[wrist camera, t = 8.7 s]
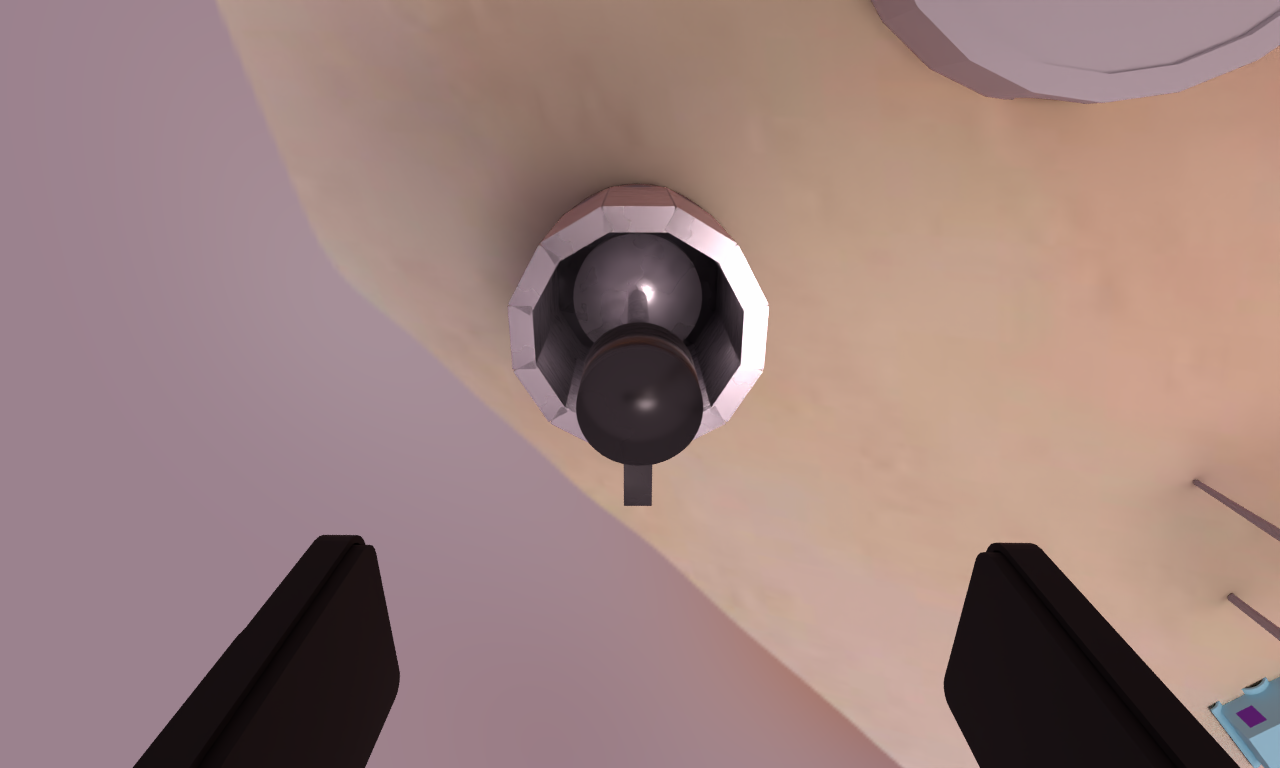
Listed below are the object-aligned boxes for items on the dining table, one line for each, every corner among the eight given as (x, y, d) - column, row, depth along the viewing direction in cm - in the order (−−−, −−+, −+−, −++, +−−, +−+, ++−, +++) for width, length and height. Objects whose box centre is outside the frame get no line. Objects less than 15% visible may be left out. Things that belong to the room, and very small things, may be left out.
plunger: (572, 230, 29) (526, 306, 16) (702, 231, 29) (753, 306, 17) (577, 354, 31) (539, 500, 19) (697, 354, 31) (738, 500, 19)
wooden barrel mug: (536, 183, 30) (498, 204, 22) (739, 184, 30) (778, 205, 22) (549, 422, 35) (522, 514, 27) (724, 422, 35) (752, 514, 27)
